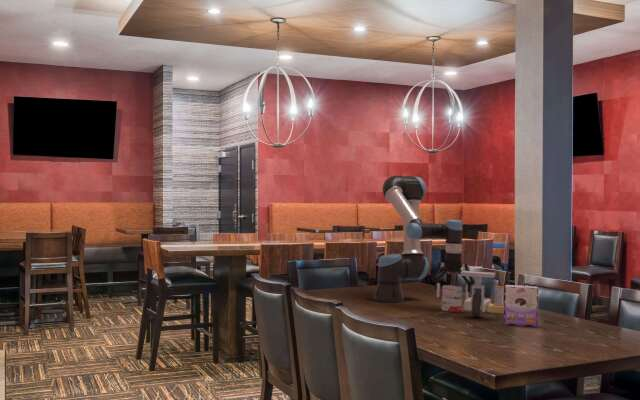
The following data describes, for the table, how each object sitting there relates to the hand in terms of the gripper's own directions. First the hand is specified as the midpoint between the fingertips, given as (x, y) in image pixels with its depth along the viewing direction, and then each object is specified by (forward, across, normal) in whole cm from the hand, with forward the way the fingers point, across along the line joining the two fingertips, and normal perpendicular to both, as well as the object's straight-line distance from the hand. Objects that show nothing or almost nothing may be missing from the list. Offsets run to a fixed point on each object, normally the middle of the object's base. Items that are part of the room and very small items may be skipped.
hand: (452, 297), depth 324 cm
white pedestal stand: (+6, +14, -11) cm, 18 cm away
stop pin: (+6, +20, +11) cm, 24 cm away
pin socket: (+6, +20, +11) cm, 24 cm away
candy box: (+7, +34, -21) cm, 40 cm away
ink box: (+6, 0, 0) cm, 6 cm away
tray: (+6, +9, +14) cm, 18 cm away
